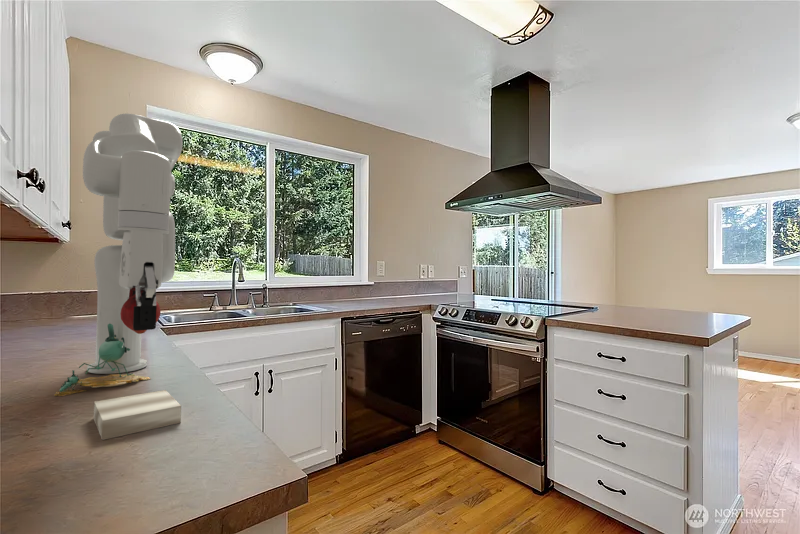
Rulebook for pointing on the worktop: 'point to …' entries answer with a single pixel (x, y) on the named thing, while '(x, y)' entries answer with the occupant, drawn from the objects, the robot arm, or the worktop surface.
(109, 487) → the worktop surface
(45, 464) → the worktop surface
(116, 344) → the frog figurine
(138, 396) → the white rectangular block
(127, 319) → the onion
